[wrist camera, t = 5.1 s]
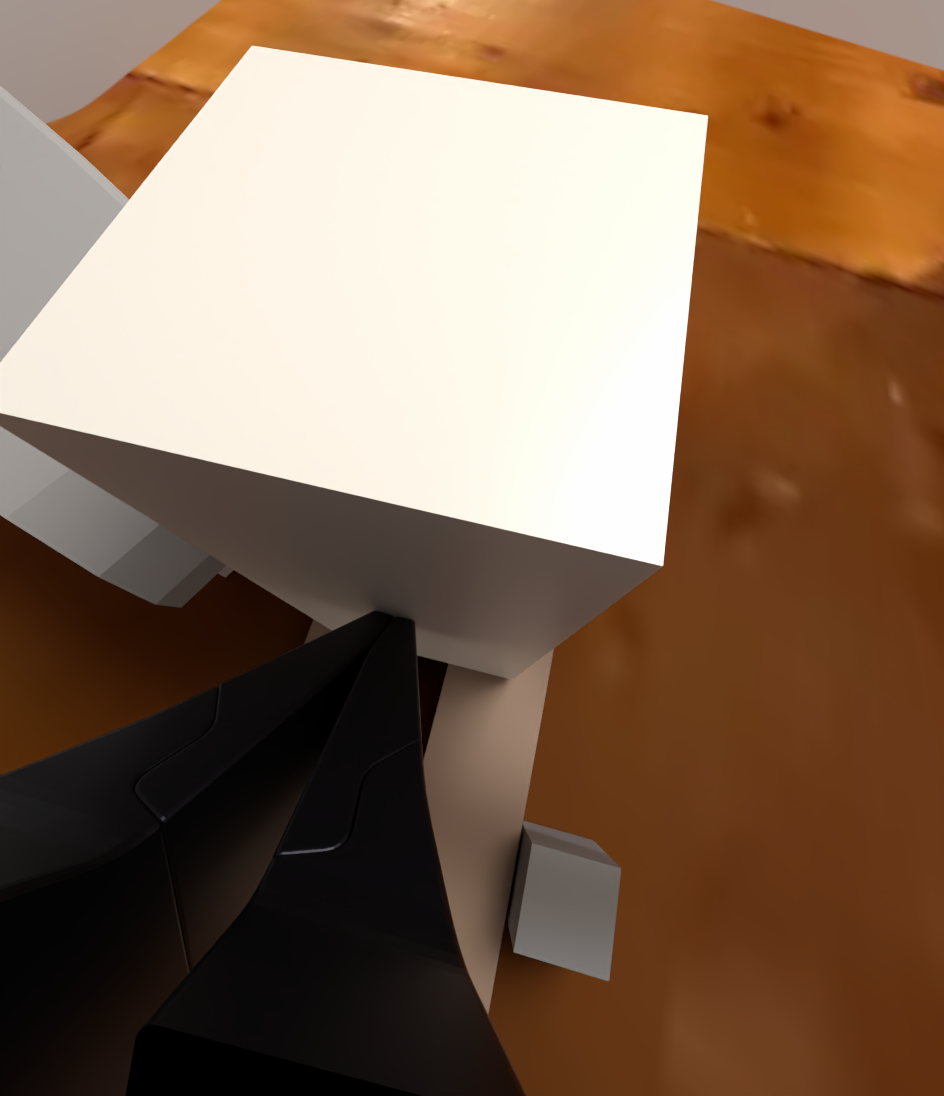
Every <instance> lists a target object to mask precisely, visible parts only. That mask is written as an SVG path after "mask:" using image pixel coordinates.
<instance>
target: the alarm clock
mask: <svg viewBox="0 0 944 1096" xmlns="http://www.w3.org/2000/svg"><path fill="white" fill-rule="evenodd" d="M128 201H129V199H128V198H127V197H126V196H125V195H124V194H123V193H122V192H121V191H119V190H118V189H117V188H116V187H115V186H114V185H113V184H112V183H111V182H110V181H109V180H108V179H107V178H106V177H105V176H104V175H102V174H101V173H100V172H99V171H98V170H97V169H96V168H95V167H94V166H93V165H92V164H91V163H90V162H89V161H88V160H87V159H86V158H84V157H83V156H82V155H81V154H80V153H79V152H78V151H76V150H75V149H74V148H73V147H72V146H70V145H69V144H68V143H67V142H66V141H65V140H63V139H62V138H61V137H60V136H59V135H57V134H56V133H55V132H54V131H53V130H52V129H50V128H49V127H48V126H47V125H46V124H45V123H43V122H42V121H41V120H40V119H38V118H37V117H36V116H35V115H34V114H33V113H32V112H30V111H29V110H28V109H27V108H26V107H25V106H23V105H22V104H21V103H20V102H19V101H17V100H16V99H15V98H14V97H13V96H12V95H10V94H9V93H8V92H7V91H6V90H5V89H3V88H2V87H1V86H0V362H1V361H2V360H3V358H4V357H5V356H6V355H7V353H8V352H9V351H10V350H11V348H12V347H13V346H14V345H15V343H16V342H17V341H18V340H19V338H20V337H21V336H22V334H23V333H24V332H25V331H26V329H27V328H28V327H29V326H30V324H31V323H32V322H33V321H34V319H35V318H36V317H37V316H38V314H39V313H40V312H41V311H42V309H43V308H44V307H45V306H46V304H47V303H48V302H49V301H50V299H51V298H52V297H53V295H54V294H55V293H56V292H57V290H58V289H59V288H60V287H61V285H62V284H63V283H64V282H65V280H66V279H67V278H68V277H69V275H70V274H71V273H72V272H73V270H74V269H75V268H76V267H77V265H78V264H79V263H80V262H81V260H82V259H83V258H84V256H85V255H86V254H87V253H88V251H89V250H90V249H91V248H92V246H93V245H94V244H95V243H96V241H97V240H98V239H99V238H100V236H101V235H102V234H103V233H104V231H105V230H106V229H107V228H108V226H109V225H110V224H111V223H112V221H113V220H114V219H115V218H116V216H117V215H118V214H119V212H120V211H121V210H122V209H123V207H124V206H125V205H126V204H127V202H128ZM0 515H1V516H2V517H4V518H5V519H7V520H8V521H10V522H11V523H13V524H15V525H16V526H18V527H19V528H21V529H23V530H24V531H26V532H27V533H29V534H31V535H32V536H34V537H35V538H37V539H39V540H40V541H42V542H43V543H45V544H46V545H48V546H50V547H51V548H53V549H54V550H56V551H58V552H59V553H61V554H62V555H64V556H66V557H67V558H69V559H70V560H72V561H73V562H75V563H77V564H78V565H80V566H81V567H83V568H85V569H86V570H88V571H89V572H91V573H93V574H94V575H96V576H97V577H99V578H101V579H103V580H105V581H107V582H109V583H112V584H114V585H116V586H118V587H120V588H122V589H124V590H126V591H128V592H130V593H132V594H134V595H136V596H138V597H140V598H143V599H145V600H147V601H149V602H151V603H153V604H155V605H162V606H171V607H179V608H181V607H183V606H184V605H185V604H186V603H187V602H188V601H189V600H190V599H191V598H192V597H193V596H194V595H195V594H196V593H197V592H199V591H200V590H201V589H202V588H203V587H204V586H205V585H206V584H207V583H208V582H209V581H210V580H211V579H212V578H213V577H215V576H216V575H217V574H220V575H221V576H223V577H225V578H226V577H227V576H228V575H229V574H230V573H231V572H232V571H233V569H231V568H230V567H228V566H226V565H225V564H223V563H222V562H220V561H218V560H217V559H215V558H213V557H212V556H210V555H209V554H207V553H205V552H204V551H202V550H201V549H199V548H197V547H196V546H194V545H192V544H191V543H189V542H188V541H186V540H184V539H183V538H181V537H179V536H178V535H176V534H175V533H173V532H171V531H170V530H168V529H166V528H165V527H163V526H162V525H160V524H158V523H157V522H155V521H153V520H152V519H150V518H149V517H147V516H145V515H144V514H142V513H140V512H139V511H137V510H136V509H134V508H132V507H131V506H129V505H127V504H126V503H124V502H123V501H121V500H119V499H118V498H116V497H115V496H113V495H111V494H110V493H108V492H106V491H105V490H103V489H102V488H100V487H98V486H97V485H95V484H93V483H92V482H90V481H89V480H87V479H85V478H84V477H82V476H80V475H79V474H77V473H76V472H74V471H72V470H71V469H69V468H67V467H66V466H64V465H63V464H61V463H59V462H58V461H56V460H54V459H53V458H51V457H50V456H48V455H46V454H45V453H43V452H42V451H40V450H38V449H37V448H35V447H33V446H32V445H30V444H29V443H27V442H25V441H24V440H22V439H20V438H19V437H17V436H16V435H14V434H12V433H11V432H9V431H7V430H6V429H4V428H3V427H1V426H0Z"/></svg>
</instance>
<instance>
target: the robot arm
mask: <svg viewBox="0 0 944 1096" xmlns="http://www.w3.org/2000/svg"><path fill="white" fill-rule="evenodd" d="M421 743H422V733H421V716H420V698H419V680H418V663H417V645H416V628H415V621H414V620H411V619H407V618H403V617H399V616H396V617H394V616H393V615H391V614H387V613H383V612H379V611H372V612H370V613H368V614H366V615H364V616H362V617H360V618H358V619H355V620H353V621H351V622H349V623H347V624H345V625H343V626H341V627H339V628H337V629H335V630H332V631H330V632H328V633H326V634H324V635H322V636H320V637H318V638H316V639H314V640H311V641H309V642H307V643H305V644H303V645H301V646H299V647H297V648H295V649H293V650H291V651H288V652H286V653H284V654H282V655H280V656H278V657H276V658H274V659H272V660H270V661H267V662H265V663H263V664H261V665H259V666H257V667H255V668H253V669H251V670H249V671H247V672H244V673H242V674H240V675H238V676H236V677H234V678H232V679H230V680H228V681H226V682H223V683H221V684H220V685H219V688H218V687H213V688H211V689H208V690H206V691H204V692H202V693H200V694H198V695H196V696H194V697H192V698H189V699H187V700H185V701H183V702H181V703H178V704H176V705H174V706H172V707H170V708H167V709H165V710H163V711H161V712H159V713H156V714H154V715H151V716H149V717H147V718H144V719H142V720H139V721H137V722H134V723H132V724H130V725H127V726H125V727H122V728H120V729H117V730H115V731H112V732H110V733H107V734H105V735H102V736H100V737H97V738H95V739H92V740H90V741H87V742H84V743H82V744H79V745H77V746H74V747H72V748H69V749H67V750H64V751H62V752H59V753H57V754H54V755H51V756H49V757H46V758H44V759H41V760H39V761H36V762H34V763H31V764H29V765H26V766H23V767H21V768H18V769H16V770H13V771H11V772H8V773H6V774H3V775H0V1096H526V1094H525V1092H524V1090H523V1088H522V1086H521V1084H520V1082H519V1080H518V1077H517V1075H516V1073H515V1071H514V1069H513V1067H512V1065H511V1063H510V1060H509V1058H508V1056H507V1054H506V1052H505V1050H504V1048H503V1046H502V1043H501V1041H500V1039H499V1037H498V1035H497V1033H496V1031H495V1029H494V1026H493V1024H492V1022H491V1020H490V1018H489V1016H488V1014H487V1012H486V1009H485V1007H484V1005H483V1003H482V1001H481V999H480V997H479V995H478V992H477V990H476V988H475V986H474V984H473V982H472V980H471V977H470V975H469V973H468V970H467V967H466V964H465V961H464V958H463V955H462V952H461V949H460V946H459V942H458V938H457V934H456V931H455V927H454V923H453V919H452V915H451V910H450V906H449V901H448V897H447V892H446V887H445V883H444V878H443V873H442V869H441V864H440V859H439V855H438V850H437V845H436V841H435V836H434V831H433V827H432V822H431V816H430V810H429V804H428V799H427V793H426V784H425V774H424V764H423V747H422V744H421Z"/></svg>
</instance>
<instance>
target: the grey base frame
mask: <svg viewBox="0 0 944 1096" xmlns="http://www.w3.org/2000/svg"><path fill="white" fill-rule="evenodd" d="M330 631H332V630H330V629H329V628H327V627H325V626H324V625H322V624H321V623H319V622H317V621H316V620H314V619H313V622H312V624H311V627H310V630H309V632H308V635H307V638H306V640H305V643H307V642H309V641H311V640H314V639H316V638H318V637H320V636H322V635H324V634H326V633H328V632H330ZM305 643H304V644H305ZM553 651H554V649H552V650H551V651H550V652H549V653H547V654H546V655H545V656H543V657H542V658H541V659H539V660H538V661H537V662H535V663H534V664H533V665H531V666H530V667H529V668H527V669H526V670H525V671H523V672H522V673H521V674H519V675H518V676H517V677H515V678H514V679H513V680H511V679H507V678H503V677H499V676H495V675H492V674H488V673H484V672H480V671H476V670H472V669H468V668H464V667H460V666H457V665H453V664H448V667H447V671H446V675H445V679H444V683H443V687H442V691H441V694H440V698H439V702H438V706H437V710H436V714H435V718H434V721H433V725H432V729H431V733H430V737H429V741H428V745H427V748H426V752H425V756H424V760H423V764H424V774H425V784H426V793H427V799H428V804H429V810H430V816H431V822H432V827H433V831H434V836H435V841H436V845H437V850H438V855H439V859H440V864H441V869H442V873H443V878H444V883H445V887H446V892H447V897H448V901H449V906H450V910H451V915H452V919H453V923H454V927H455V931H456V934H457V938H458V942H459V946H460V949H461V952H462V955H463V958H464V961H465V964H466V967H467V970H468V973H469V975H470V977H471V980H472V982H473V984H474V986H475V988H476V990H477V992H478V995H479V997H480V999H481V1001H482V1003H483V1005H484V1007H485V1009H486V1012H487V1014H488V1013H489V1007H490V1002H491V996H492V990H493V985H494V979H495V974H496V968H497V963H498V957H499V951H500V946H501V940H502V935H503V929H504V924H505V918H506V916H507V921H508V926H509V931H510V936H511V941H512V947H513V952H514V953H518V954H521V955H524V956H527V957H531V958H534V959H537V960H540V961H544V962H547V963H550V964H554V965H557V966H560V967H563V968H567V969H570V970H573V971H577V972H580V973H583V974H586V975H590V976H593V977H596V978H600V979H603V980H606V981H609V977H610V968H611V958H612V949H613V940H614V931H615V921H616V912H617V903H618V893H619V884H620V875H621V868H620V867H619V866H618V865H617V864H616V863H615V862H614V861H613V860H612V859H611V858H610V857H609V856H608V855H607V854H606V853H605V852H604V851H603V850H602V849H601V848H600V847H599V846H598V845H597V844H596V843H595V842H594V841H593V840H591V839H587V838H584V837H580V836H576V835H573V834H569V833H566V832H562V831H559V830H555V829H552V828H548V827H544V826H541V825H537V824H534V823H530V822H527V821H523V818H524V812H525V807H526V801H527V795H528V790H529V784H530V779H531V773H532V768H533V762H534V756H535V751H536V745H537V740H538V734H539V729H540V723H541V717H542V712H543V706H544V701H545V695H546V690H547V684H548V678H549V673H550V667H551V662H552V656H553Z"/></svg>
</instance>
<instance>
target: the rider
mask: <svg viewBox="0 0 944 1096" xmlns="http://www.w3.org/2000/svg"><path fill="white" fill-rule="evenodd" d="M707 121H708V116H707V115H700V114H694V113H687V112H681V111H674V110H668V109H661V108H655V107H648V106H642V105H635V104H629V103H622V102H616V101H609V100H603V99H596V98H590V97H583V96H577V95H570V94H564V93H557V92H550V91H544V90H537V89H531V88H524V87H518V86H511V85H505V84H498V83H492V82H485V81H479V80H472V79H466V78H459V77H453V76H446V75H440V74H433V73H427V72H420V71H414V70H407V69H401V68H394V67H387V66H381V65H374V64H368V63H361V62H355V61H348V60H342V59H335V58H329V57H322V56H316V55H309V54H303V53H296V52H290V51H283V50H277V49H270V48H264V47H257V46H251V48H250V49H249V50H248V51H247V53H246V54H245V55H244V57H243V58H242V59H241V60H240V62H239V63H238V64H237V65H236V67H235V68H234V69H233V70H232V72H231V73H230V74H229V75H228V77H227V78H226V79H225V80H224V82H223V83H222V84H221V85H220V87H219V88H218V89H217V90H216V92H215V93H214V94H213V96H212V97H211V98H210V99H209V101H208V102H207V103H206V104H205V106H204V107H203V108H202V109H201V111H200V112H199V113H198V114H197V116H196V117H195V118H194V119H193V121H192V122H191V123H190V124H189V126H188V127H187V128H186V129H185V131H184V132H183V133H182V134H181V136H180V137H179V138H178V140H177V141H176V142H175V143H174V145H173V146H172V147H171V148H170V150H169V151H168V152H167V153H166V155H165V156H164V157H163V158H162V160H161V161H160V162H159V163H158V165H157V166H156V167H155V168H154V170H153V171H152V172H151V173H150V175H149V176H148V177H147V179H146V180H145V181H144V182H143V184H142V185H141V186H140V187H139V189H138V190H137V191H136V192H135V194H134V195H133V196H132V197H131V199H130V200H129V201H128V202H127V204H126V205H125V206H124V207H123V209H122V210H121V211H120V212H119V214H118V215H117V216H116V218H115V219H114V220H113V221H112V223H111V224H110V225H109V226H108V228H107V229H106V230H105V231H104V233H103V234H102V235H101V236H100V238H99V239H98V240H97V241H96V243H95V244H94V245H93V246H92V248H91V249H90V250H89V251H88V253H87V254H86V255H85V256H84V258H83V259H82V260H81V262H80V263H79V264H78V265H77V267H76V268H75V269H74V270H73V272H72V273H71V274H70V275H69V277H68V278H67V279H66V280H65V282H64V283H63V284H62V285H61V287H60V288H59V289H58V290H57V292H56V293H55V294H54V295H53V297H52V298H51V299H50V301H49V302H48V303H47V304H46V306H45V307H44V308H43V309H42V311H41V312H40V313H39V314H38V316H37V317H36V318H35V319H34V321H33V322H32V323H31V324H30V326H29V327H28V328H27V329H26V331H25V332H24V333H23V334H22V336H21V337H20V338H19V340H18V341H17V342H16V343H15V345H14V346H13V347H12V348H11V350H10V351H9V352H8V353H7V355H6V356H5V357H4V358H3V360H2V361H1V362H0V426H1V427H3V428H4V429H6V430H7V431H9V432H11V433H12V434H14V435H16V436H17V437H19V438H20V439H22V440H24V441H25V442H27V443H29V444H30V445H32V446H33V447H35V448H37V449H38V450H40V451H42V452H43V453H45V454H46V455H48V456H50V457H51V458H53V459H54V460H56V461H58V462H59V463H61V464H63V465H64V466H66V467H67V468H69V469H71V470H72V471H74V472H76V473H77V474H79V475H80V476H82V477H84V478H85V479H87V480H89V481H90V482H92V483H93V484H95V485H97V486H98V487H100V488H102V489H103V490H105V491H106V492H108V493H110V494H111V495H113V496H115V497H116V498H118V499H119V500H121V501H123V502H124V503H126V504H127V505H129V506H131V507H132V508H134V509H136V510H137V511H139V512H140V513H142V514H144V515H145V516H147V517H149V518H150V519H152V520H153V521H155V522H157V523H158V524H160V525H162V526H163V527H165V528H166V529H168V530H170V531H171V532H173V533H175V534H176V535H178V536H179V537H181V538H183V539H184V540H186V541H188V542H189V543H191V544H192V545H194V546H196V547H197V548H199V549H201V550H202V551H204V552H205V553H207V554H209V555H210V556H212V557H213V558H215V559H217V560H218V561H220V562H222V563H223V564H225V565H226V566H228V567H230V568H231V569H233V570H235V571H236V572H238V573H239V574H241V575H243V576H244V577H246V578H248V579H249V580H251V581H252V582H254V583H256V584H257V585H259V586H261V587H262V588H264V589H265V590H267V591H269V592H270V593H272V594H274V595H275V596H277V597H278V598H280V599H282V600H283V601H285V602H286V603H288V604H290V605H291V606H293V607H295V608H296V609H298V610H299V611H301V612H303V613H304V614H306V615H308V616H309V617H311V618H312V619H314V620H316V621H317V622H319V623H321V624H322V625H324V626H325V627H327V628H329V629H330V630H335V629H337V628H339V627H341V626H343V625H345V624H347V623H349V622H351V621H353V620H355V619H358V618H360V617H362V616H364V615H366V614H368V613H370V612H372V611H379V612H383V613H387V614H391V615H393V616H394V617H396V616H399V617H403V618H407V619H411V620H414V621H415V628H416V645H417V655H418V656H422V657H425V658H429V659H433V660H437V661H441V662H445V663H449V664H453V665H457V666H460V667H464V668H468V669H472V670H476V671H480V672H484V673H488V674H492V675H495V676H499V677H503V678H507V679H511V680H513V679H514V678H515V677H517V676H518V675H519V674H521V673H522V672H523V671H525V670H526V669H527V668H529V667H530V666H531V665H533V664H534V663H535V662H537V661H538V660H539V659H541V658H542V657H543V656H545V655H546V654H547V653H549V652H550V651H551V650H552V649H554V648H555V647H556V646H558V645H559V644H560V643H562V642H563V641H564V640H566V639H567V638H568V637H570V636H571V635H572V634H574V633H575V632H576V631H578V630H579V629H580V628H582V627H583V626H584V625H586V624H587V623H588V622H590V621H591V620H592V619H594V618H595V617H596V616H598V615H599V614H600V613H602V612H603V611H604V610H605V609H607V608H608V607H609V606H611V605H612V604H613V603H615V602H616V601H617V600H619V599H620V598H621V597H623V596H624V595H625V594H627V593H628V592H629V591H631V590H632V589H633V588H635V587H636V586H637V585H639V584H640V583H641V582H643V581H644V580H645V579H647V578H648V577H649V576H651V575H652V574H653V573H654V572H656V571H657V570H658V569H660V568H661V567H662V566H663V560H664V550H665V540H666V530H667V520H668V510H669V500H670V490H671V480H672V470H673V460H674V450H675V440H676V430H677V420H678V410H679V400H680V390H681V380H682V370H683V360H684V350H685V340H686V330H687V320H688V310H689V300H690V290H691V280H692V270H693V260H694V250H695V240H696V231H697V221H698V211H699V201H700V191H701V181H702V171H703V161H704V151H705V141H706V131H707Z"/></svg>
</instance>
